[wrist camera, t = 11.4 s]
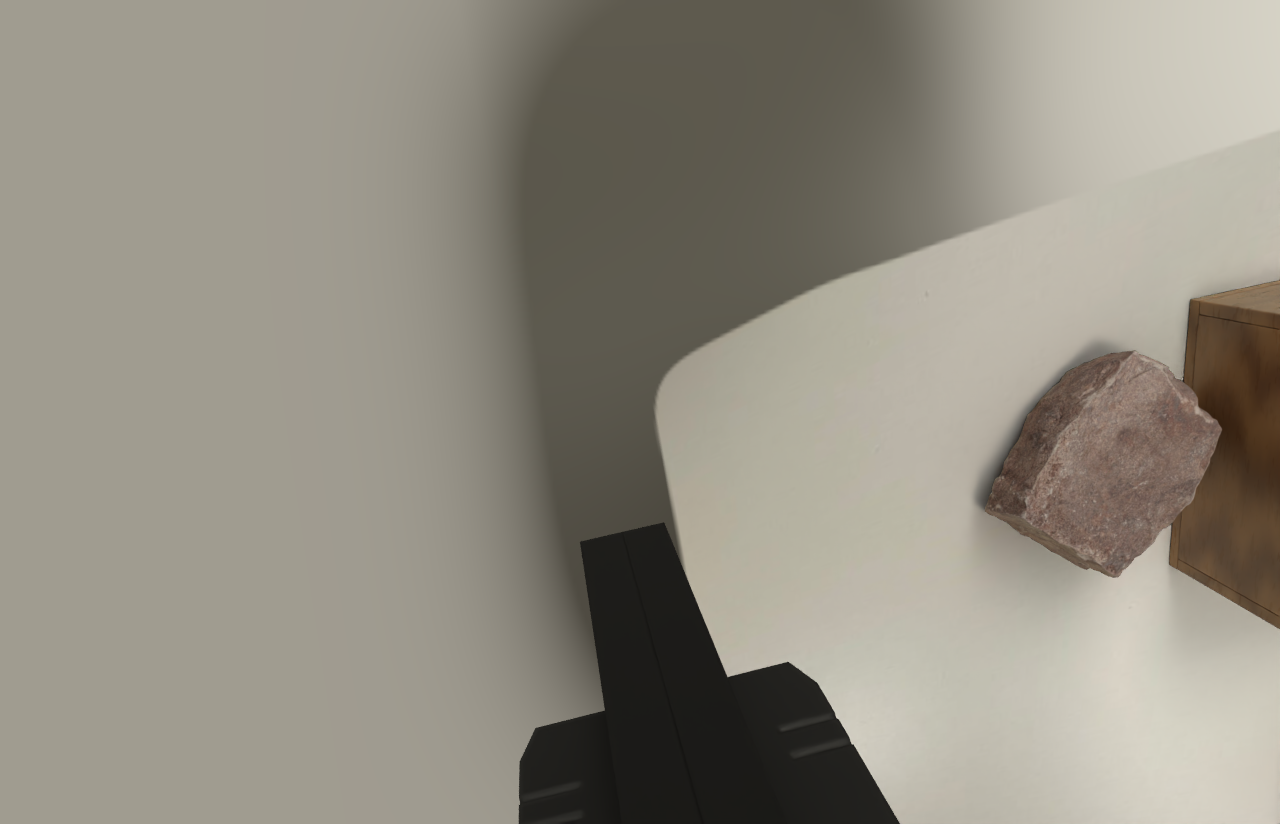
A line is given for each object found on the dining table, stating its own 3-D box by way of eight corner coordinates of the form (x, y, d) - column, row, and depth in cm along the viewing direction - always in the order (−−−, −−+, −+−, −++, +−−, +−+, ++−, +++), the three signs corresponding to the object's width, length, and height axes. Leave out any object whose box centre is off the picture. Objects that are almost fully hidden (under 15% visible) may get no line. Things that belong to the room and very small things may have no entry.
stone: (1087, 324, 40) (1159, 341, 35) (1183, 400, 43) (1261, 425, 38) (959, 494, 42) (1012, 531, 37) (1058, 557, 45) (1119, 598, 40)
